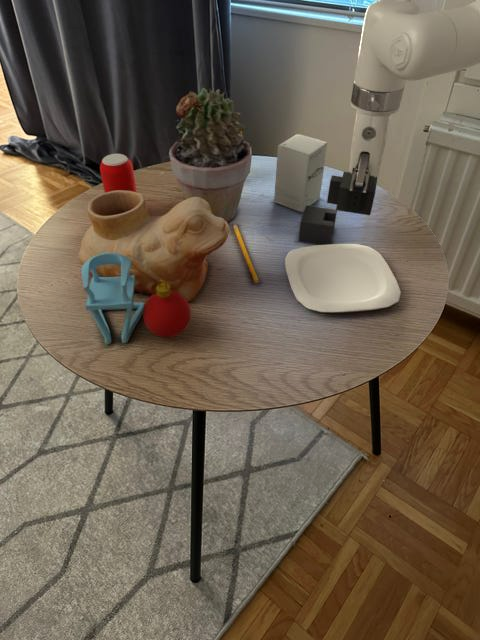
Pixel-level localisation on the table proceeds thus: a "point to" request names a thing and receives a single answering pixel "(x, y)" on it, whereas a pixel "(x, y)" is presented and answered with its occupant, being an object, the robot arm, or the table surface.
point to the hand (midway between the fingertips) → (355, 199)
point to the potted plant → (211, 152)
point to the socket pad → (317, 225)
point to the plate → (341, 278)
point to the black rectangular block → (340, 191)
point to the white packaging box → (299, 171)
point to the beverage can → (117, 173)
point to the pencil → (245, 253)
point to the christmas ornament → (166, 312)
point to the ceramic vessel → (154, 241)
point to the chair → (111, 293)
